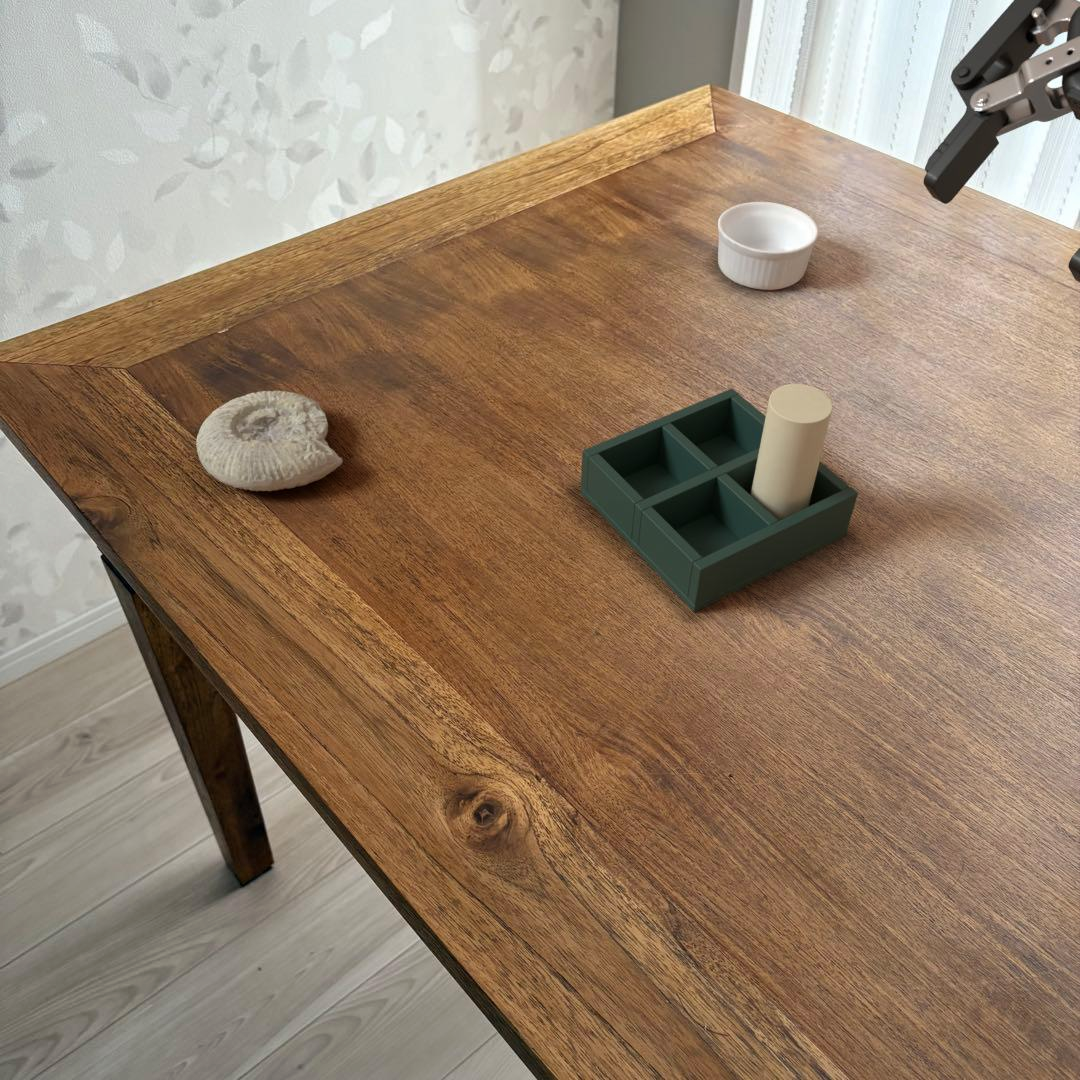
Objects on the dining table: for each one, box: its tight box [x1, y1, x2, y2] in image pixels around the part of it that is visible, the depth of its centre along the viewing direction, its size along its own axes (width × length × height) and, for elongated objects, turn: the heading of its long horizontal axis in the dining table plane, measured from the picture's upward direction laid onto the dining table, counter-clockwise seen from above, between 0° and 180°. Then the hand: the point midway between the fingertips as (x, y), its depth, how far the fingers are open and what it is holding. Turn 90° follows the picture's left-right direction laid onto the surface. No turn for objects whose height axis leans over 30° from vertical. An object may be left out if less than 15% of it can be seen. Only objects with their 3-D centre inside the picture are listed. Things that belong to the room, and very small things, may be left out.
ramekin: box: [717, 201, 820, 291], centre depth 100 cm, size 9×9×4 cm
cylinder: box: [751, 383, 834, 521], centre depth 74 cm, size 4×4×10 cm
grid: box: [580, 388, 859, 613], centre depth 77 cm, size 13×13×4 cm
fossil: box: [195, 390, 344, 492], centre depth 82 cm, size 11×4×10 cm
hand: (1002, 233), depth 51 cm, fingers open, 8 cm apart
